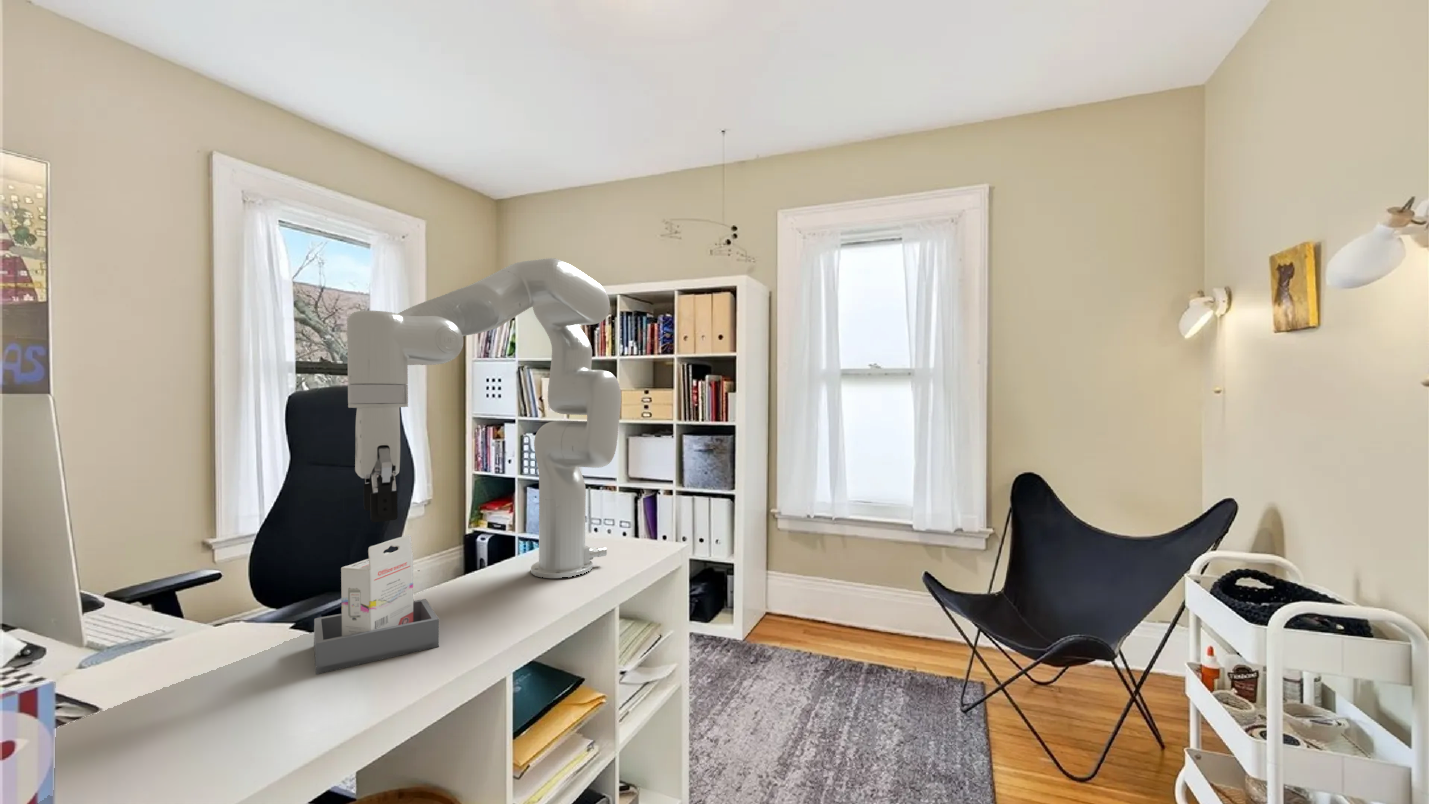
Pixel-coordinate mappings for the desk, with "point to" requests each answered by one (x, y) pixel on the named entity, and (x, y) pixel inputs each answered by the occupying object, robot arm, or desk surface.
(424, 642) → the box
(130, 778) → the desk surface
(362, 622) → the ink cartridge box
